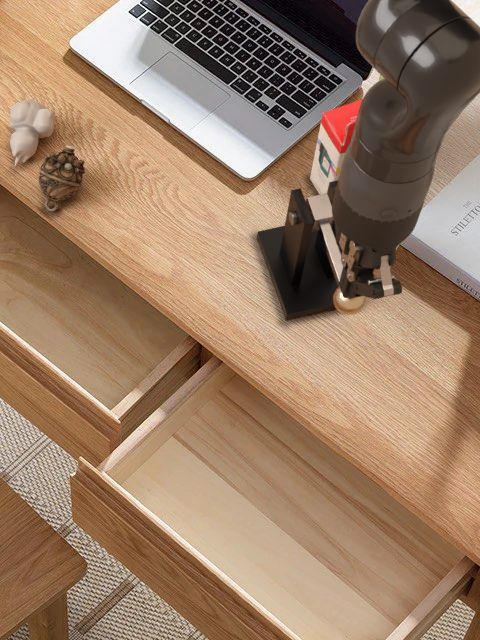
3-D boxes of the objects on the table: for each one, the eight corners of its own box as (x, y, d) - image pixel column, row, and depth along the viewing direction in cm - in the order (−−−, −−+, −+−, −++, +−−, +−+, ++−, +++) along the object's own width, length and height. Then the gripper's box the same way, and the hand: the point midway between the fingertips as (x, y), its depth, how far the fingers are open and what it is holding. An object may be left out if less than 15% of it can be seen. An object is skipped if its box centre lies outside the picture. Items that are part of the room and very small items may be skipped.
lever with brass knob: (366, 316, 123) (373, 302, 120) (335, 323, 123) (341, 309, 120) (327, 205, 128) (332, 189, 125) (297, 212, 128) (302, 196, 125)
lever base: (357, 305, 134) (378, 238, 122) (285, 320, 133) (299, 255, 122) (325, 223, 138) (342, 151, 127) (256, 238, 138) (267, 167, 126)
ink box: (374, 154, 142) (399, 67, 129) (395, 187, 140) (422, 101, 127) (307, 178, 141) (325, 92, 128) (326, 211, 139) (346, 127, 126)
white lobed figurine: (4, 95, 144) (-16, 158, 143) (40, 88, 139) (20, 153, 138) (37, 116, 148) (18, 177, 146) (74, 110, 143) (54, 174, 142)
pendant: (56, 138, 141) (96, 153, 140) (35, 202, 143) (75, 217, 143) (44, 138, 137) (85, 154, 136) (22, 204, 139) (63, 220, 138)
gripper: (453, 236, 103) (410, 339, 118) (399, 114, 109) (365, 227, 124) (366, 255, 102) (335, 356, 118) (317, 131, 108) (293, 243, 123)
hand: (350, 290), depth 121 cm, fingers closed
